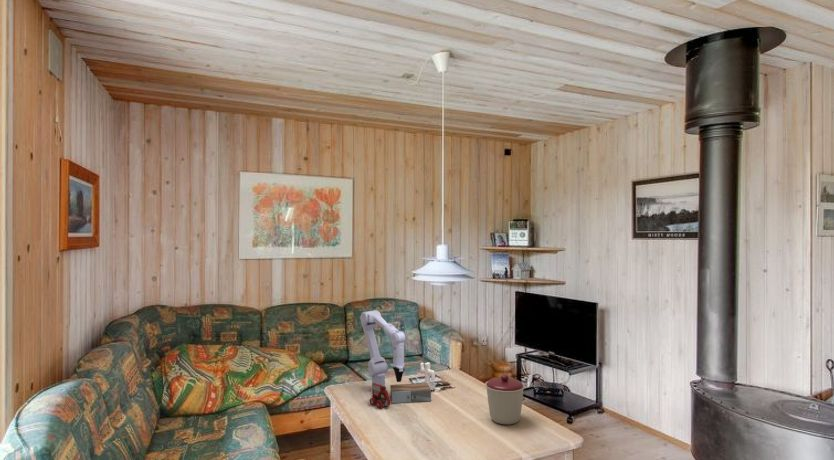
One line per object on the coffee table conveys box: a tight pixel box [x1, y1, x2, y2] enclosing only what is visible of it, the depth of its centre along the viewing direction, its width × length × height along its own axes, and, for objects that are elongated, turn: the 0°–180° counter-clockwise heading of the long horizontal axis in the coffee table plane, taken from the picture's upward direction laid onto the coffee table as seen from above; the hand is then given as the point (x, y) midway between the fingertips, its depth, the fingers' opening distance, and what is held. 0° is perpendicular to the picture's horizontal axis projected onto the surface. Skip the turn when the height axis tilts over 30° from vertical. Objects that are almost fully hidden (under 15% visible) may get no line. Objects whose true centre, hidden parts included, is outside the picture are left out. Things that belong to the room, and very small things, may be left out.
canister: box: [484, 373, 526, 426], centre depth 214 cm, size 18×18×21 cm
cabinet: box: [389, 382, 432, 403], centre depth 242 cm, size 12×20×6 cm, turn 97°
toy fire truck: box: [369, 383, 392, 410], centre depth 234 cm, size 7×12×10 cm, turn 44°
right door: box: [391, 391, 412, 404], centre depth 237 cm, size 2×10×6 cm, turn 98°
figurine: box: [419, 361, 438, 391], centre depth 256 cm, size 7×9×15 cm
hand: (398, 381), depth 242 cm, fingers closed
